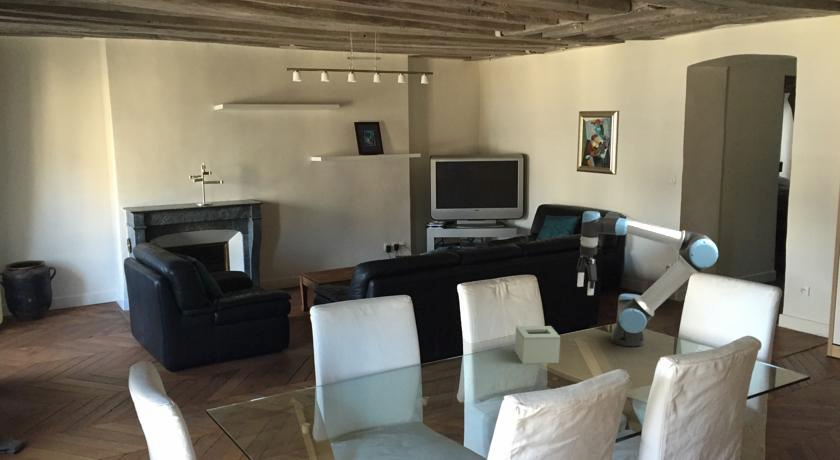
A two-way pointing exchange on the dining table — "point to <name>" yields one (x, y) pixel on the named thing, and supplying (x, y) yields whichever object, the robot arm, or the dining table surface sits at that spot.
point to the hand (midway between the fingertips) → (585, 290)
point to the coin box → (537, 344)
